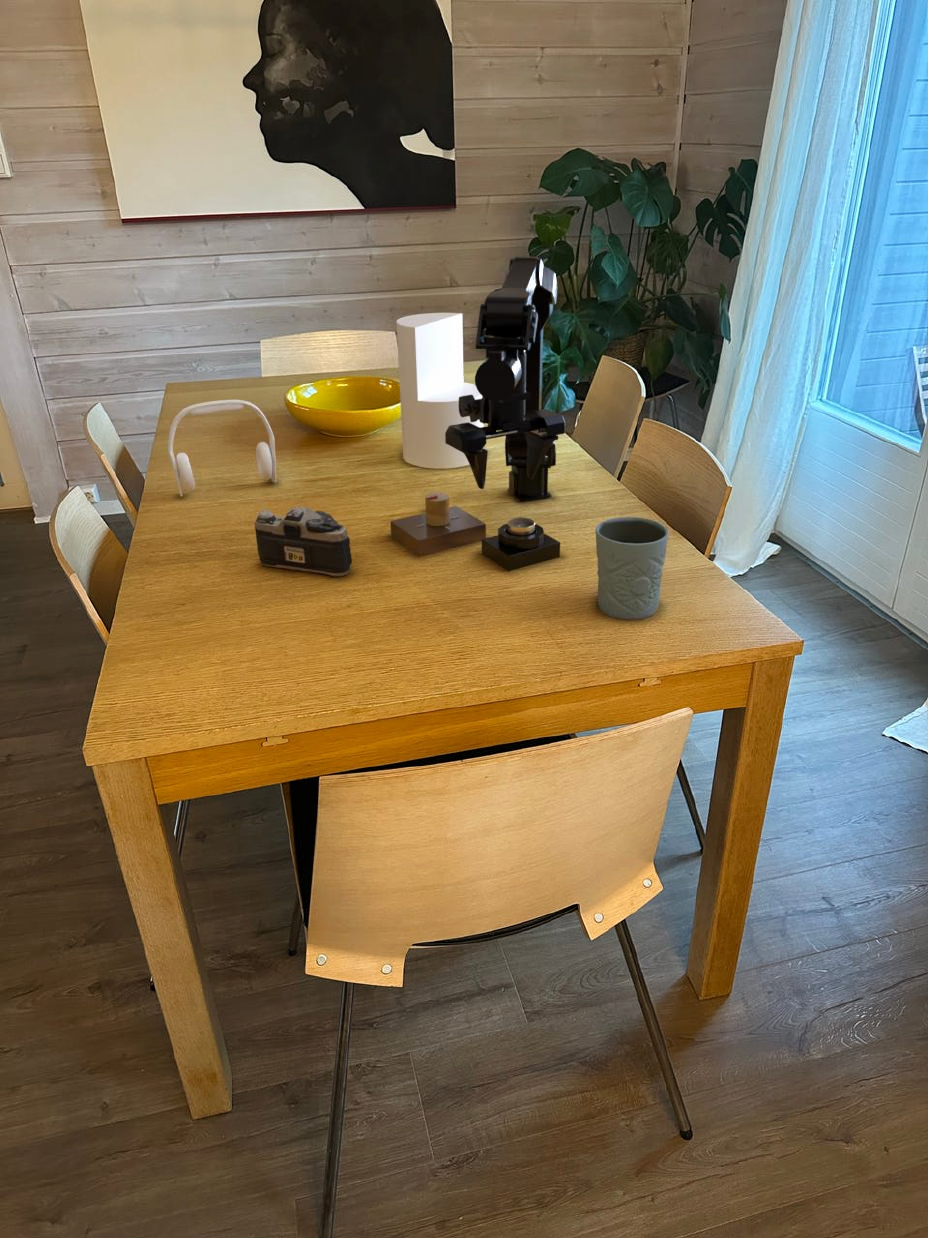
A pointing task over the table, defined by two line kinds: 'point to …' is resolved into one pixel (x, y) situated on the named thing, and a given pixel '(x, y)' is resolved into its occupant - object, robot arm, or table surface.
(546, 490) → the robot arm
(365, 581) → the table surface
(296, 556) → the camera
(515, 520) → the power button
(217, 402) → the headset
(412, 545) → the console
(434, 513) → the volume knob
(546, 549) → the switch block
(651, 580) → the grey embossed cup
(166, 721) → the table surface
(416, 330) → the cylinder
